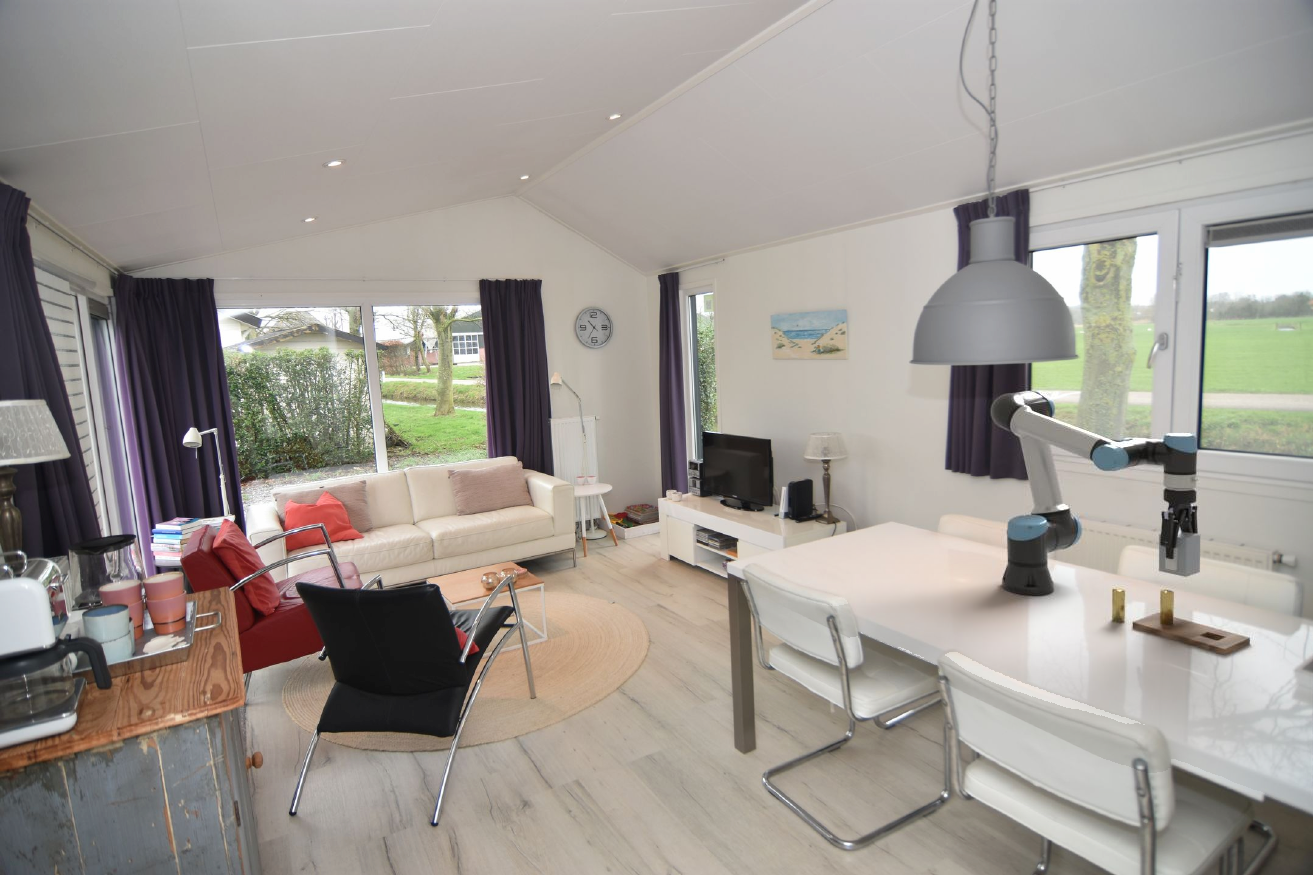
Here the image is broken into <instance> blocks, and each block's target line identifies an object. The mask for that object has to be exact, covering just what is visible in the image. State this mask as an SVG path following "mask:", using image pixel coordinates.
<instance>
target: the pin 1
mask: <svg viewBox="0 0 1313 875" xmlns="http://www.w3.org/2000/svg"><path fill="white" fill-rule="evenodd" d="M1111 593H1112V596H1111V598H1112V599H1111V609H1112V610H1111V611H1112V612H1111V618H1112V622H1116V623H1125V621H1126V611H1125V610H1126V609H1125V608H1126V590H1125V589H1123V588H1118V587H1117V588H1116V587H1114V588H1112V592H1111Z"/></svg>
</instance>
